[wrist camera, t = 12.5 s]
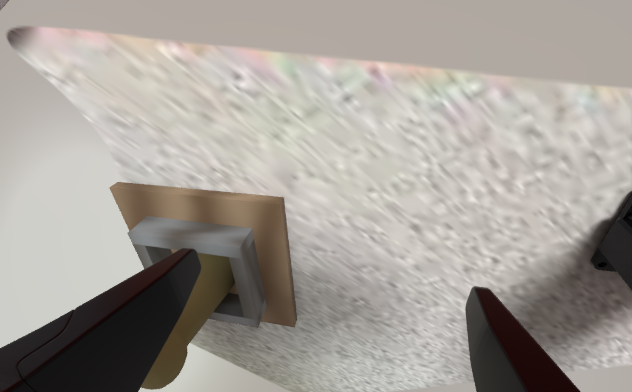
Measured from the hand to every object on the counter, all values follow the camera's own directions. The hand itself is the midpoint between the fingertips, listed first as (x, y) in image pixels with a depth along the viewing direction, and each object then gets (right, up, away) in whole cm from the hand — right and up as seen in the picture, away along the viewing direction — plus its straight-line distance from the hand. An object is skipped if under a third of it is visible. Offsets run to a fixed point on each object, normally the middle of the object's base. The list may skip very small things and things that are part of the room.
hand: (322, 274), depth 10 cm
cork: (-10, -4, +20) cm, 23 cm away
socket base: (-10, -4, +21) cm, 24 cm away
